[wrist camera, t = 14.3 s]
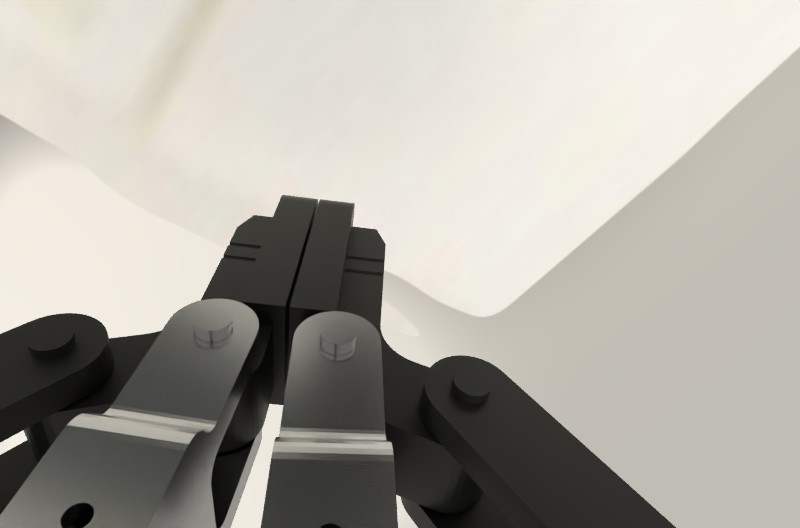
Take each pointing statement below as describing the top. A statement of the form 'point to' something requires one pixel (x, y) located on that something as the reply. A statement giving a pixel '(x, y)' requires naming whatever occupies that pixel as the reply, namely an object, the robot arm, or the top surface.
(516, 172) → the top surface
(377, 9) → the top surface
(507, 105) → the top surface
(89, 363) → the robot arm
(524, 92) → the top surface
